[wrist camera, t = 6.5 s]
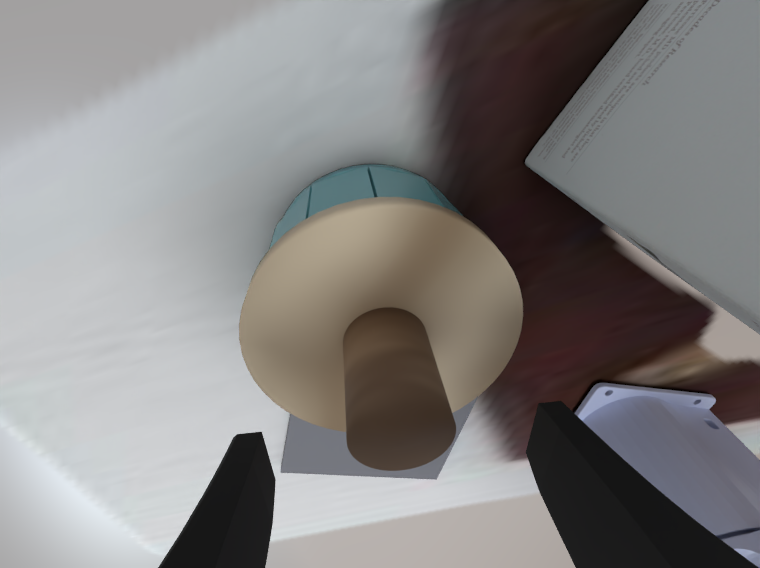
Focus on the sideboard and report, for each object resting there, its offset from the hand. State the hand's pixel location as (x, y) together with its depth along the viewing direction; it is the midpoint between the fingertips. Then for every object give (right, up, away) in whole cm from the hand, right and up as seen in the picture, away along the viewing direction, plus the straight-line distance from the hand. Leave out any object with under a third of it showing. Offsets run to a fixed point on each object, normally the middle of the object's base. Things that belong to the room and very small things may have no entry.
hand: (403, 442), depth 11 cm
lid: (-1, +3, +5) cm, 5 cm away
